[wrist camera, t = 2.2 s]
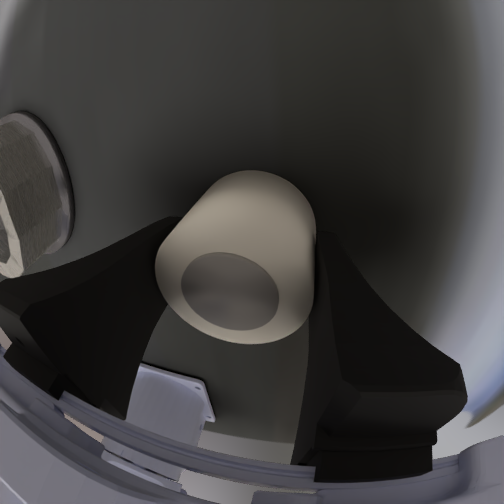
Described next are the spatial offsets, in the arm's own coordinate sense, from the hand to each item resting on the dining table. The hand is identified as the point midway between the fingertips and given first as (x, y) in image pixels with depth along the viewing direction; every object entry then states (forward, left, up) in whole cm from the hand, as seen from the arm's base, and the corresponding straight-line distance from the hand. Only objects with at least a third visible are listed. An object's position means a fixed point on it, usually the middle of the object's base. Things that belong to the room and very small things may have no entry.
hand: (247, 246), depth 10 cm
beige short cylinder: (0, 0, -1) cm, 1 cm away
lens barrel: (+2, +15, -1) cm, 15 cm away
